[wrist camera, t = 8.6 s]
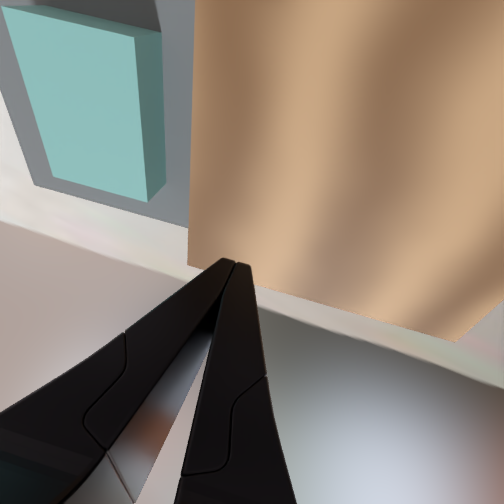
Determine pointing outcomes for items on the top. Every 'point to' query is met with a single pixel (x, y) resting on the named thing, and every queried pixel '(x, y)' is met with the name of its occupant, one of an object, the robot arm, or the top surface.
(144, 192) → the teal tile
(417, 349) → the top surface
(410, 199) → the oak deck
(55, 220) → the top surface
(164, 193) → the slate mat
